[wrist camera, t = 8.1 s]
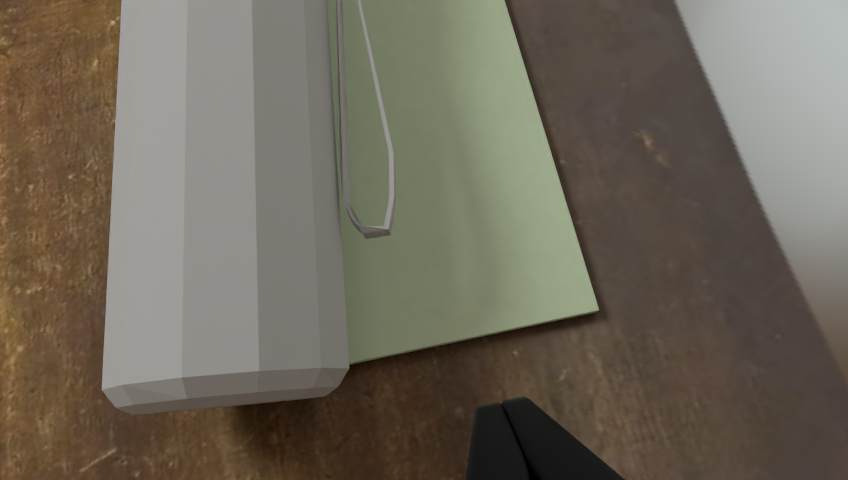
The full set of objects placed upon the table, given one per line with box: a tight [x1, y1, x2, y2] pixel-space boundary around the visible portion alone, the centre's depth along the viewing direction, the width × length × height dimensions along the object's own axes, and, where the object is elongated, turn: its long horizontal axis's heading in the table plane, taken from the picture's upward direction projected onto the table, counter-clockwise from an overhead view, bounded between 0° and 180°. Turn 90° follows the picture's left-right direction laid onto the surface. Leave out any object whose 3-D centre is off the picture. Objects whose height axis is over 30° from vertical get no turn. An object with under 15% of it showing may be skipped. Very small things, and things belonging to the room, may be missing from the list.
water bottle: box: [102, 0, 396, 415], centre depth 20 cm, size 9×8×25 cm
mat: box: [327, 0, 599, 365], centre depth 24 cm, size 20×12×1 cm, turn 12°
